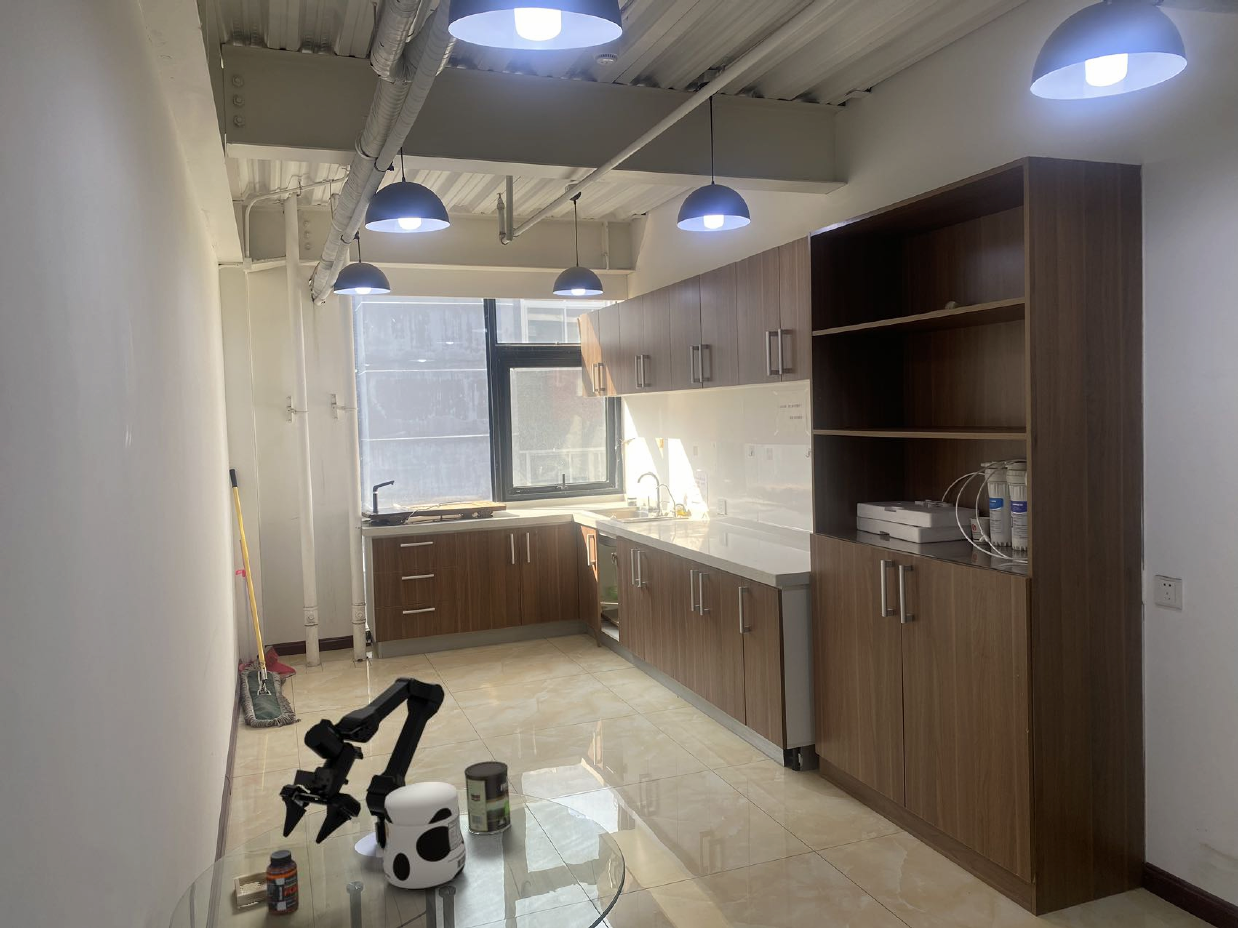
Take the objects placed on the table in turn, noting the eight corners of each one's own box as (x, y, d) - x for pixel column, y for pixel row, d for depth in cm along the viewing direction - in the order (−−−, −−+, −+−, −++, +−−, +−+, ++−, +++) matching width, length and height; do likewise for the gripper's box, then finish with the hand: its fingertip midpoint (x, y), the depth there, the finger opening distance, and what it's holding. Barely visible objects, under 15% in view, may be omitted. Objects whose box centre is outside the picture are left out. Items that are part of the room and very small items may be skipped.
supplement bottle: (289, 916, 184) (285, 861, 184) (262, 915, 185) (258, 859, 185) (305, 901, 190) (301, 847, 190) (279, 900, 191) (275, 846, 191)
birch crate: (282, 877, 202) (281, 866, 202) (287, 895, 193) (286, 884, 193) (235, 889, 197) (234, 877, 197) (238, 908, 189) (237, 896, 189)
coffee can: (513, 816, 228) (510, 759, 227) (508, 834, 217) (504, 775, 217) (471, 818, 228) (468, 761, 227) (464, 836, 217) (460, 777, 217)
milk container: (378, 871, 202) (373, 789, 202) (456, 852, 209) (451, 774, 208) (392, 906, 186) (386, 818, 186) (476, 885, 193) (470, 800, 193)
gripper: (282, 747, 201) (244, 817, 191) (348, 756, 192) (311, 830, 183) (312, 770, 208) (277, 839, 199) (376, 780, 200) (342, 852, 190)
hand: (300, 839), depth 192 cm, fingers open, 9 cm apart
